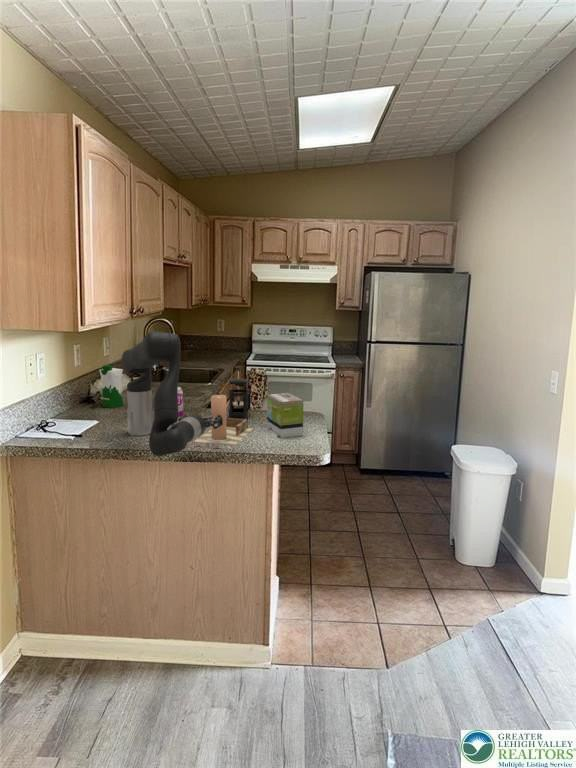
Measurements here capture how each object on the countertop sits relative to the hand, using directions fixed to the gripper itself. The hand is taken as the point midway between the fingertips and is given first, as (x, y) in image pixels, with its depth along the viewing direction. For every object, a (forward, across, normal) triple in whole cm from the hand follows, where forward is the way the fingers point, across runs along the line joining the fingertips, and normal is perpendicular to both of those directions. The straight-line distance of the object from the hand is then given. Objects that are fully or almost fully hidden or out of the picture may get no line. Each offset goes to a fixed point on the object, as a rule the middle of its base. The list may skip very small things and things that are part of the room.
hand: (208, 416), depth 189 cm
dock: (+18, 0, +12) cm, 21 cm away
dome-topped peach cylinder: (+12, 0, +11) cm, 16 cm away
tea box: (+30, -21, +12) cm, 39 cm away
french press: (+49, +5, +12) cm, 51 cm away
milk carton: (+54, +70, +13) cm, 90 cm away
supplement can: (+33, +29, +12) cm, 46 cm away
